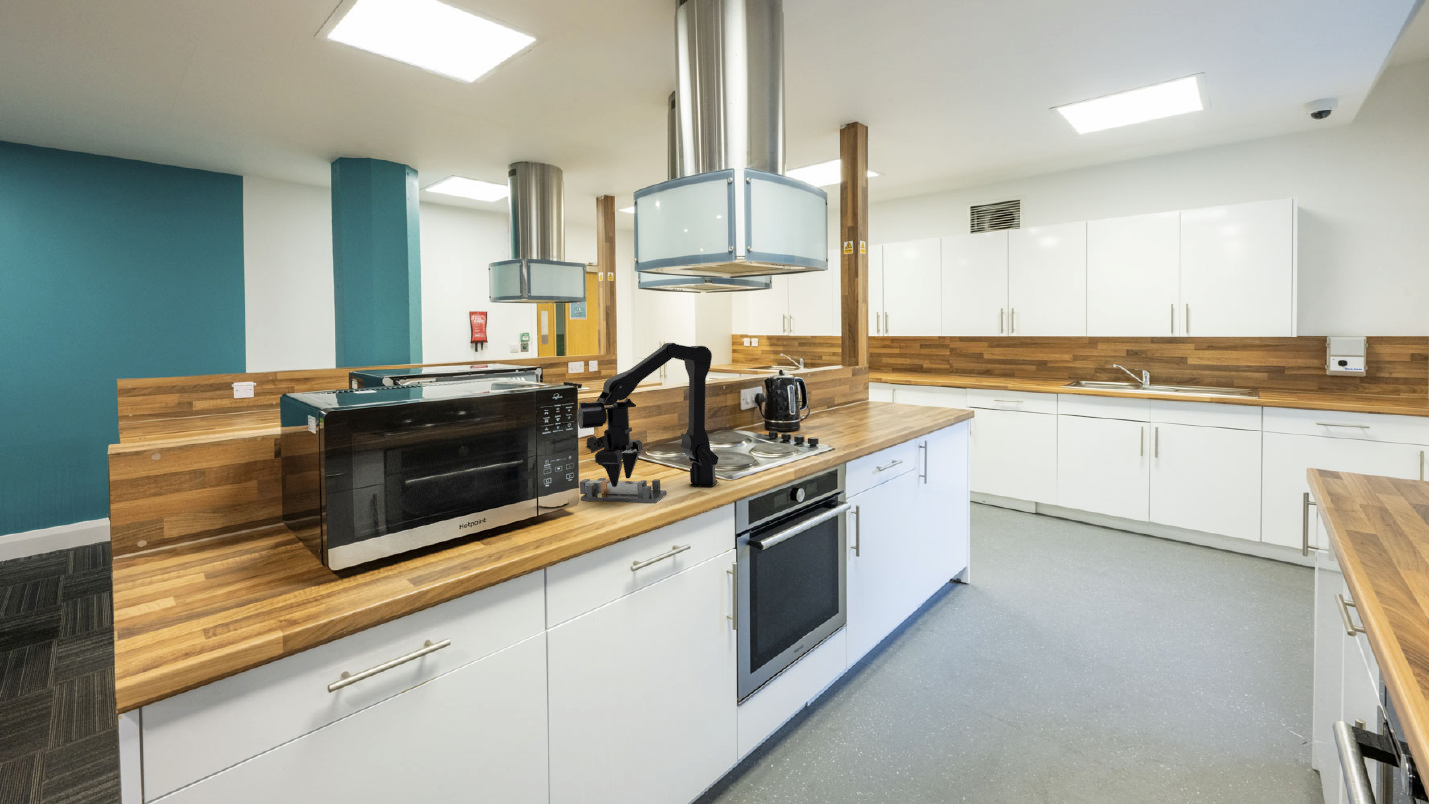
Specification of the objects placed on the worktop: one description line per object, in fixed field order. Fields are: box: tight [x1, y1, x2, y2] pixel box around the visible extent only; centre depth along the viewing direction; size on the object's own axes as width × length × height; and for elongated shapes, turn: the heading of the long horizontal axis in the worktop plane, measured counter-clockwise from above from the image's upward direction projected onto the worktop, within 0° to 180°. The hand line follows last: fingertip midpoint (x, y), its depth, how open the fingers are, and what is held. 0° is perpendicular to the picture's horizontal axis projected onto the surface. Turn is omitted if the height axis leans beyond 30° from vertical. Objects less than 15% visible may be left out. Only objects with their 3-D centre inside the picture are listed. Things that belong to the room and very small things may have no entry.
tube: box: [579, 478, 648, 496], centre depth 162 cm, size 18×3×3 cm, turn 76°
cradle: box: [580, 477, 667, 504], centre depth 161 cm, size 21×9×4 cm, turn 76°
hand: (621, 482), depth 161 cm, fingers open, 9 cm apart
